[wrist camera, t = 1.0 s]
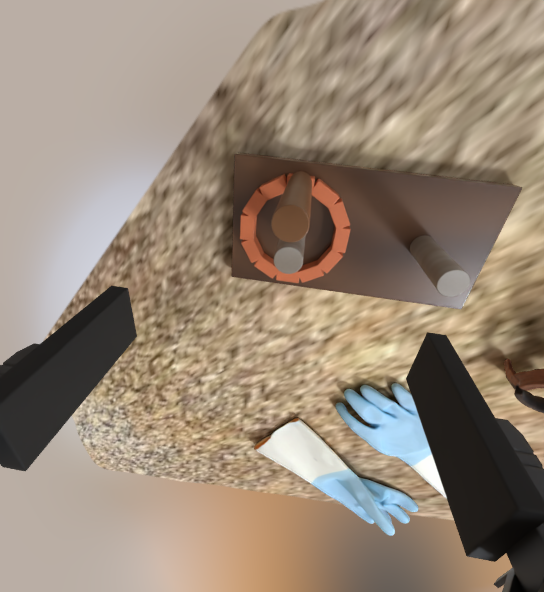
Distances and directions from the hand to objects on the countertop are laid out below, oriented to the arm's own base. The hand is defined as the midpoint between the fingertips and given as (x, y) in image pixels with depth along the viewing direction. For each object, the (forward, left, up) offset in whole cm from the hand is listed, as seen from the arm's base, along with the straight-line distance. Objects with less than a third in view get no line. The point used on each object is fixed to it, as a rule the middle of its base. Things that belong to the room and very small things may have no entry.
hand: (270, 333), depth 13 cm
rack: (+2, +7, -21) cm, 22 cm away
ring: (+2, 0, -20) cm, 20 cm away
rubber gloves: (+39, +19, -21) cm, 48 cm away
